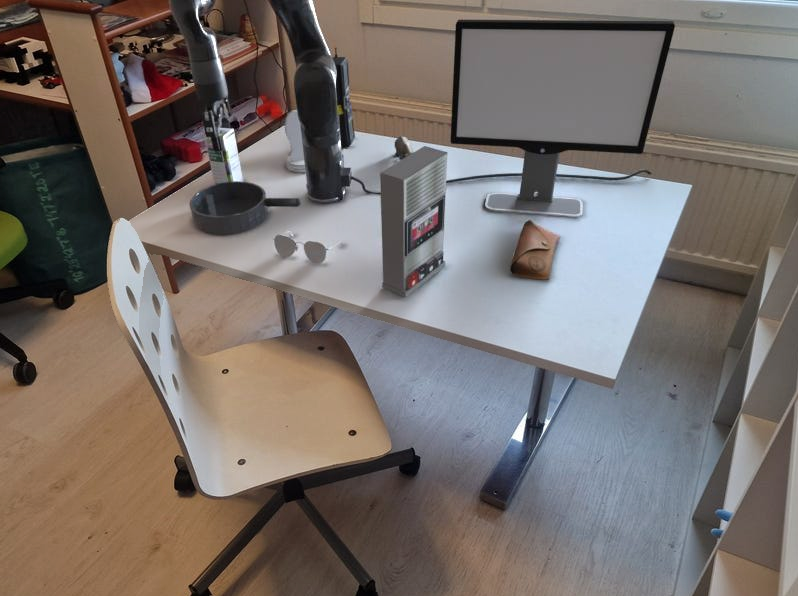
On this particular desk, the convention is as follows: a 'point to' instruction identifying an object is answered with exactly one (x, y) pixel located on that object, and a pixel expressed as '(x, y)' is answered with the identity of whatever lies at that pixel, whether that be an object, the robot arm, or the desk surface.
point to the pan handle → (282, 202)
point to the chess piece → (294, 143)
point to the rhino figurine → (402, 147)
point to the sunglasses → (311, 248)
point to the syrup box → (224, 158)
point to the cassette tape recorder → (413, 219)
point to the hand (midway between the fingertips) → (223, 143)
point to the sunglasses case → (534, 252)
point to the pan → (229, 208)
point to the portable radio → (344, 101)
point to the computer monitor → (555, 95)
